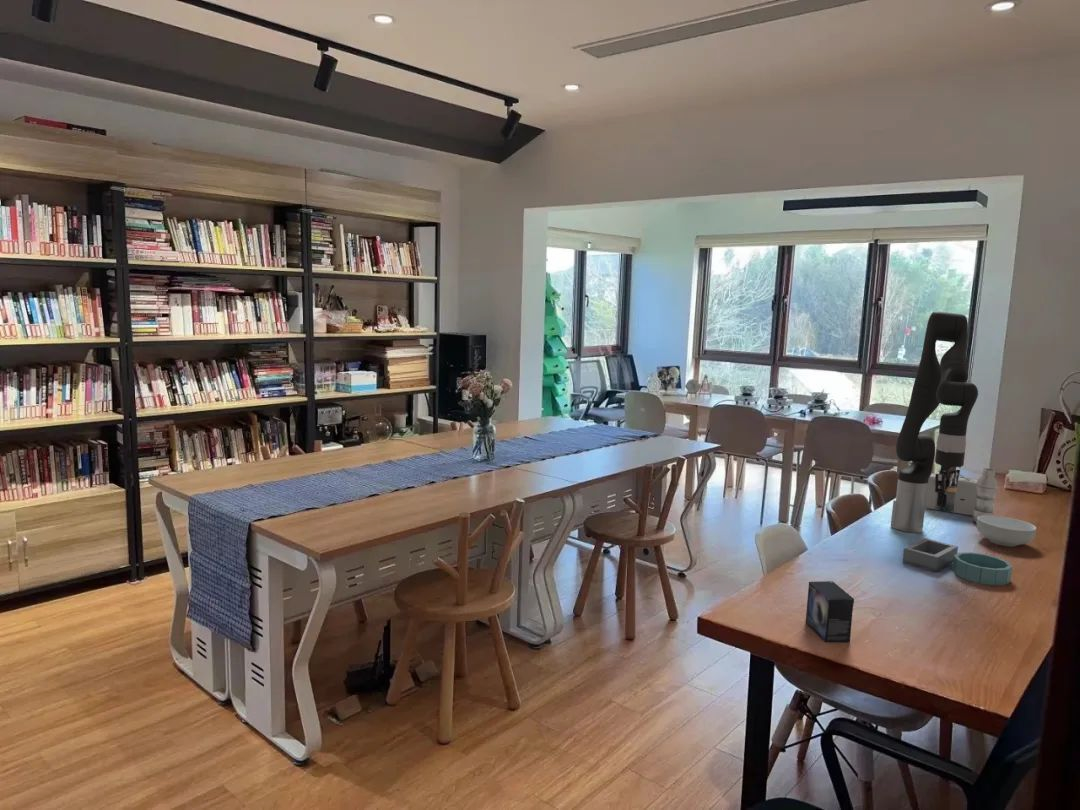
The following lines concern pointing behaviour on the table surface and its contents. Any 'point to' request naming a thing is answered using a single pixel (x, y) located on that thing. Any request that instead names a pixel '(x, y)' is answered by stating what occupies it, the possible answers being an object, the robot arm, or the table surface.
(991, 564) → the cup
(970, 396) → the robot arm
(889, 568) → the table surface
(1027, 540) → the cereal bowl
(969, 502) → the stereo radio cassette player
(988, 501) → the plastic bottle
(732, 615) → the table surface
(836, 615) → the small box
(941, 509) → the cell
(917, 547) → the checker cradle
